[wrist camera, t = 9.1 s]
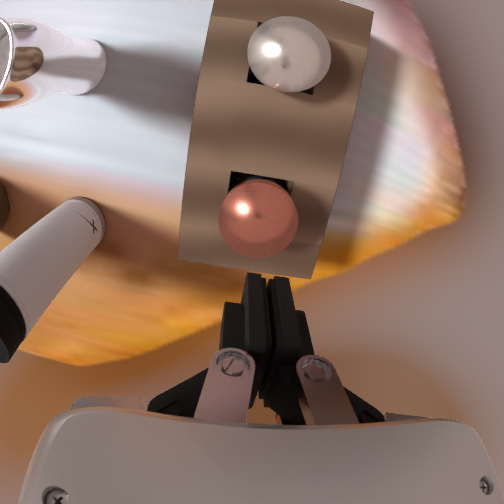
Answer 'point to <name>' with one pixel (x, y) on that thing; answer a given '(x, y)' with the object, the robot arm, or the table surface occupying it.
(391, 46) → the table surface
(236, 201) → the plug terracotta
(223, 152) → the socket board
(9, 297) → the travel mug
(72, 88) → the beer glass
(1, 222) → the beer bottle
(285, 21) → the plug cream
